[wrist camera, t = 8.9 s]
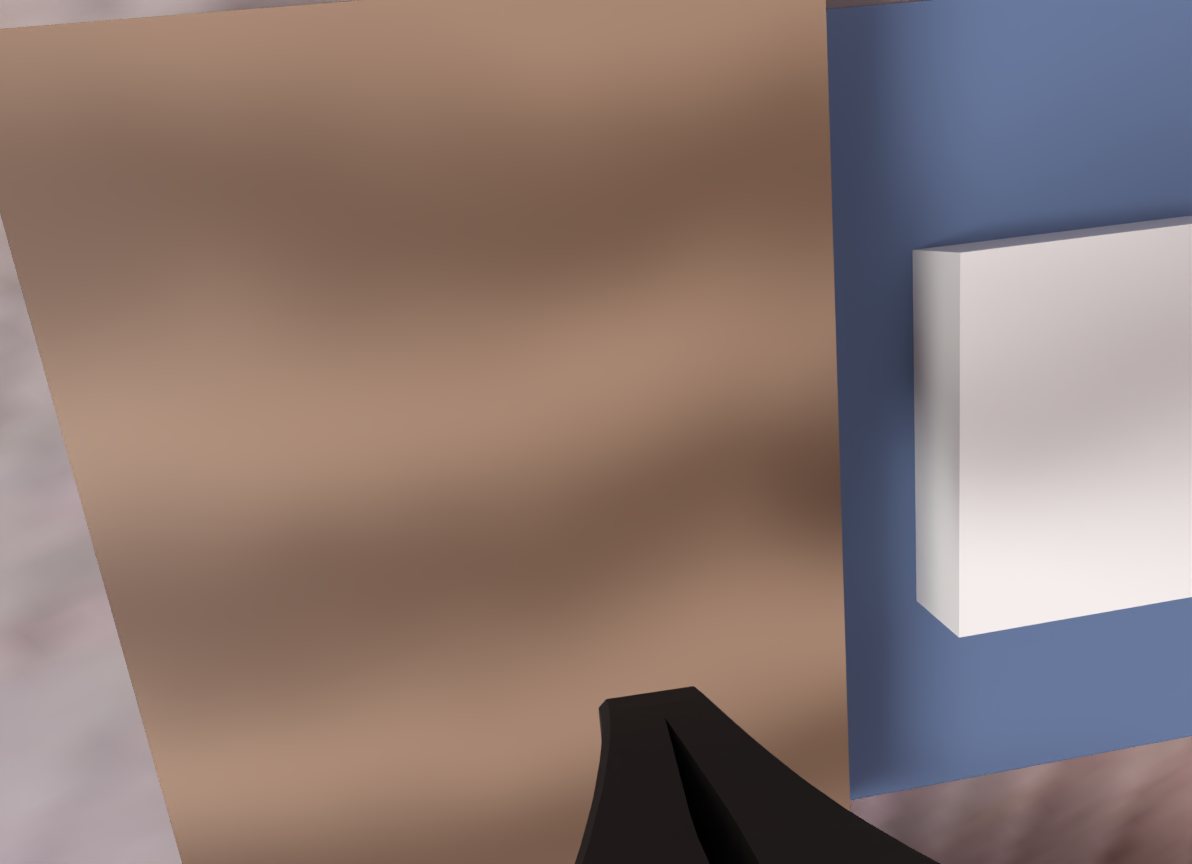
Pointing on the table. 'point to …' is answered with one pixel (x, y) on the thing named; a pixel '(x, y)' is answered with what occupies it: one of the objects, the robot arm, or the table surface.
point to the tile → (1053, 424)
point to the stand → (440, 397)
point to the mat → (886, 352)
